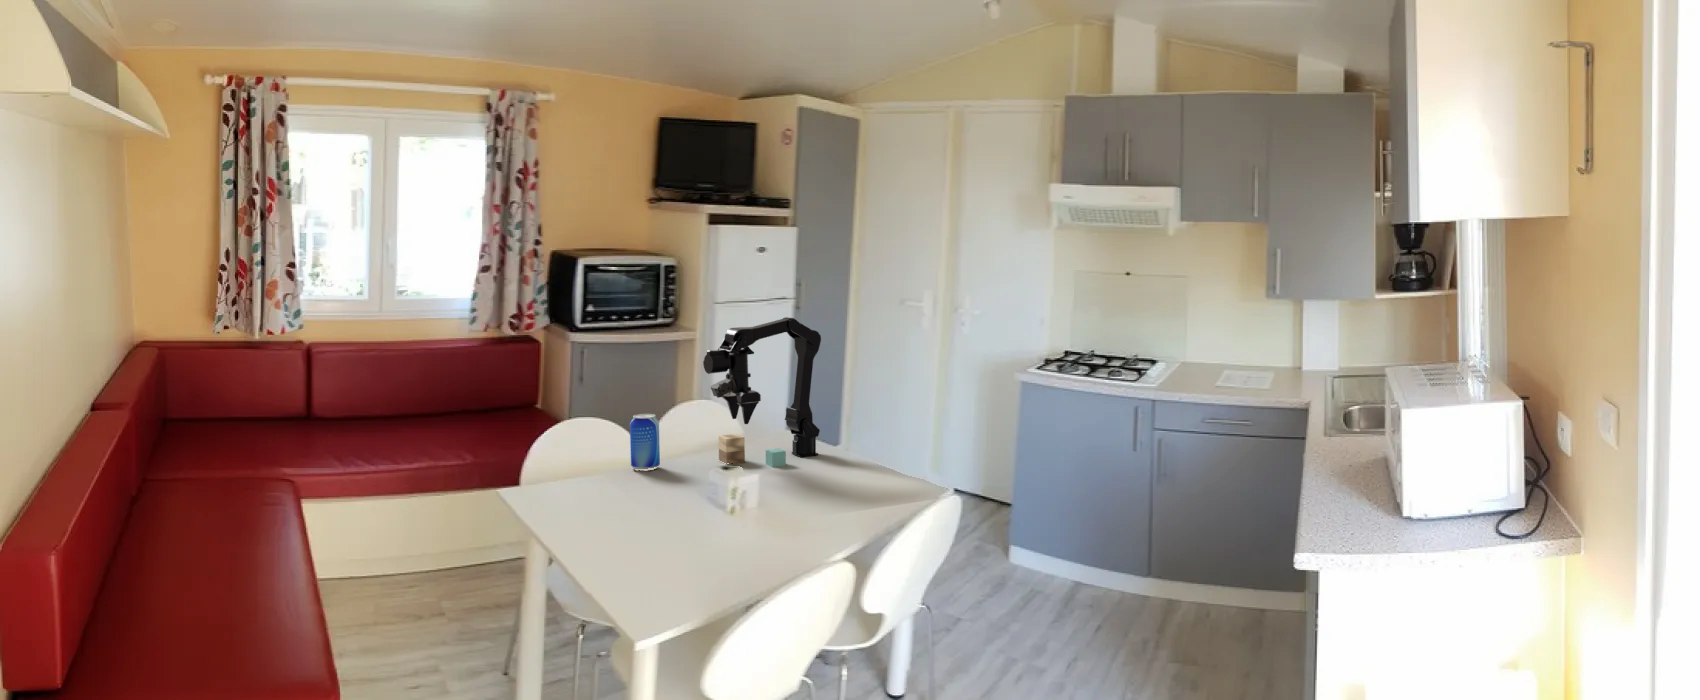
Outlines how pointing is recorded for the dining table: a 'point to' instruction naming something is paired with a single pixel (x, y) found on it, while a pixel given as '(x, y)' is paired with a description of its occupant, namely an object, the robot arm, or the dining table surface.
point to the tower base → (732, 457)
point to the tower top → (731, 443)
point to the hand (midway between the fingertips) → (740, 421)
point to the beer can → (644, 441)
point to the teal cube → (776, 457)
